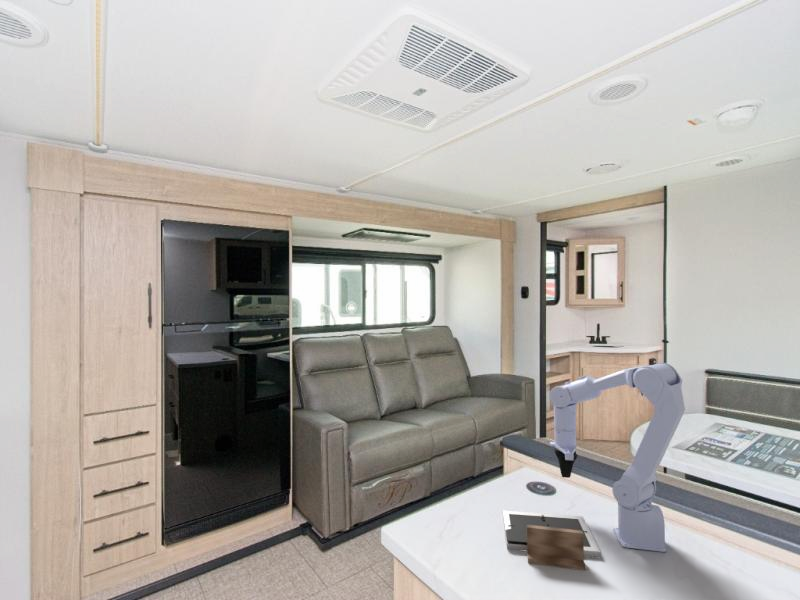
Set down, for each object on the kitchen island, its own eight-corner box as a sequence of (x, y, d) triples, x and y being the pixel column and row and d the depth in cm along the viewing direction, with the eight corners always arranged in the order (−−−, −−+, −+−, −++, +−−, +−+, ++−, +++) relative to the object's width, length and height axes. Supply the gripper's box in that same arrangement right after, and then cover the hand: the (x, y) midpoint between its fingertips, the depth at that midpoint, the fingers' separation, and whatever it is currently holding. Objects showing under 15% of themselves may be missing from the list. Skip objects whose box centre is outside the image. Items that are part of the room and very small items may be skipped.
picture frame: (507, 552, 97) (600, 560, 94) (506, 540, 97) (600, 548, 94) (502, 517, 113) (582, 524, 109) (502, 507, 113) (582, 513, 109)
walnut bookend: (582, 561, 92) (582, 530, 92) (585, 570, 89) (585, 538, 89) (527, 554, 95) (526, 524, 95) (528, 562, 92) (527, 531, 92)
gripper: (547, 420, 123) (547, 465, 123) (553, 435, 109) (554, 486, 109) (572, 421, 122) (572, 467, 121) (581, 437, 107) (582, 489, 107)
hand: (565, 476), depth 115 cm, fingers closed
